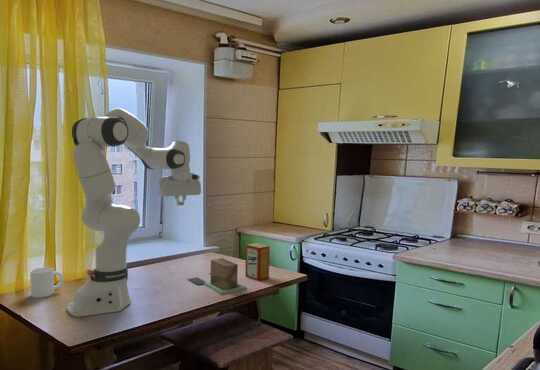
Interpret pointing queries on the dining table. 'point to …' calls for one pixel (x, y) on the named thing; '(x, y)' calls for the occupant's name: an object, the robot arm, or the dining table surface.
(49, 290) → the mug
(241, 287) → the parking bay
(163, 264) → the dining table surface
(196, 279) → the trap mat left
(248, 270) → the baking soda box
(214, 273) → the walnut block
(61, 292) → the dining table surface
